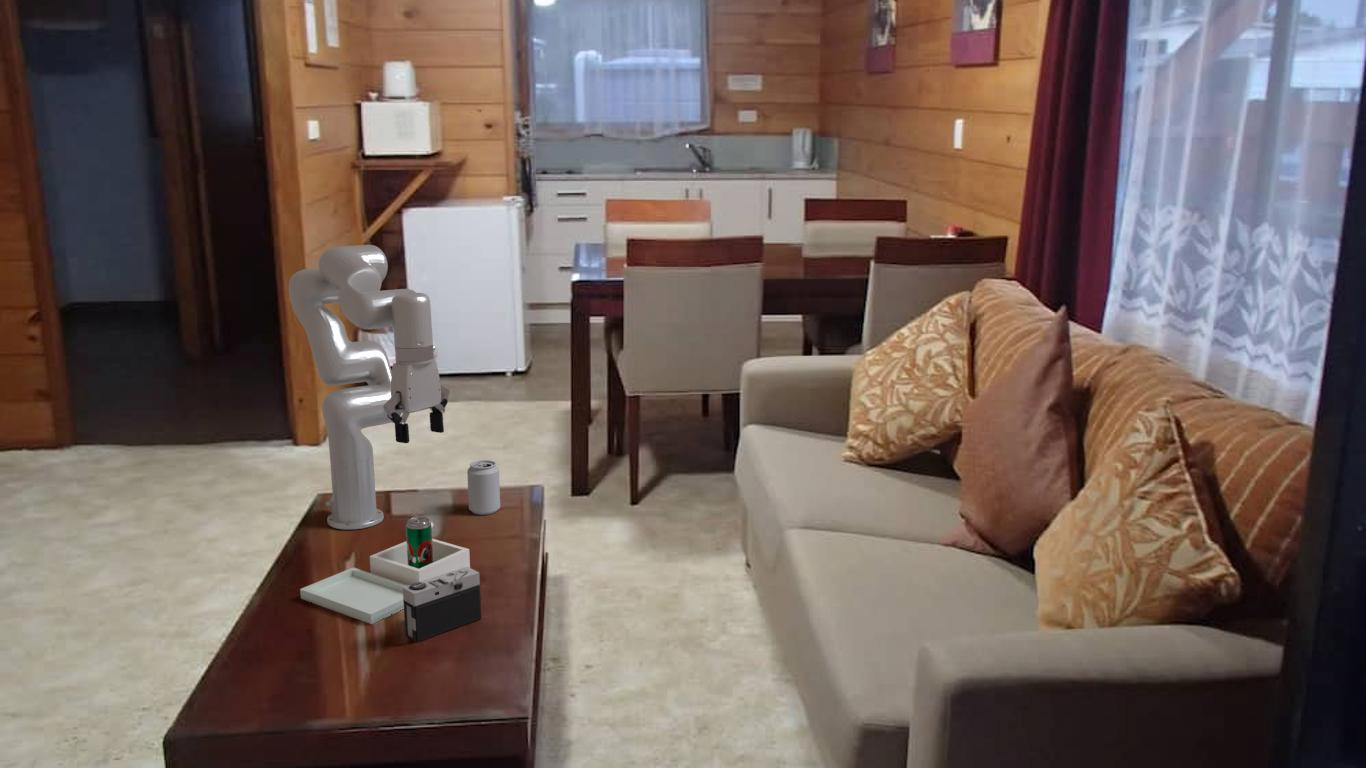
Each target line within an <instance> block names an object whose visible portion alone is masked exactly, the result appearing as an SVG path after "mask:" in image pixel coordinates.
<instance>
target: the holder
mask: <svg viewBox="0 0 1366 768" xmlns="http://www.w3.org/2000/svg"><path fill="white" fill-rule="evenodd" d="M432 549H433V563H431V564H429V565H427V566H424V567H422V568H420V569H418V568H415V567H412V566H408V560H407V541H406V540H405V541H403V542H401V543H399V544H396V545H393V546H391V547H389V548H386V549H384V550H382V551H378V552H377V553H374V554H372V555H370V556H369V566H370V568H369V569H370V573H372V574H375V575H378V576H381V577H385V578H388V579H391V580H394V581H397V582H400V583H403V584H406V585H411V584H413V583H416V582H421V581H424V580H427V579H430V578H433V577H436V576H439V575H443V574H446V573H449V572H452V571H455V570H458V569H461V568H464V567H469V568H471V560H470V559H471V557H470V555H471V554H470V549H469V548H467V547H463V546H459V545H456V544H452V543H449V542H446V541H442V540H438V539H436V538H432Z"/></svg>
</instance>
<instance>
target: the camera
mask: <svg viewBox="0 0 1366 768" xmlns="http://www.w3.org/2000/svg"><path fill="white" fill-rule="evenodd" d="M480 584H481V583H480V572H479V571H477V570H475V569H474V568H471V567H470V568H469V567H464V568H461V569H458V570H455V571H452V572H449V573H446V574H443V575H439V576H436V577H433V578H430V579H427V580H424V581H421V582H416V583H413V584H411V585H408V586H405V587H403V602H404V609H403V614H404V615H403V616H404V633H405V635H404V636H405V637H406V638H407V639H409V640H411V641H412V642H414V643H419V642H421V641H425V640H427V639H430V638H433V637H435V636H438V635H441V634H444V633H446V632H447V633H448V632H449V631H452V630H455V629H457V628H461V627H464V626H466V625H468V624H471V623H474V622H477V621H479V620H482V605H481V604H482V599H481V585H480Z"/></svg>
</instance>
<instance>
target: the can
mask: <svg viewBox="0 0 1366 768" xmlns="http://www.w3.org/2000/svg"><path fill="white" fill-rule="evenodd" d="M466 473H467V493H468V494H467V496H468V498H467V499H468V509H469V511H471V512H472V513H473V514H475V515H480V516H487V515H492V514H495V513H497V511H498V510H499V509H500V508H501V492H500V491H501V488H500V487H501V486H500V484H501V483H500V468H499V467H498V466H497V462H496V461H495V460H491V459H490V460H489V459H488V460H487V459H481V460H474V461H472V462H470V463H469V468H468V469H467V472H466Z"/></svg>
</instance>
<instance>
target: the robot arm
mask: <svg viewBox="0 0 1366 768" xmlns="http://www.w3.org/2000/svg"><path fill="white" fill-rule="evenodd" d="M388 265H389V264H388V260H387V256H386V255H385V253H384V252H383V250H382V249H381V248H380V247H378V246H376V245H373V244H359V245H358V244H357V245H340V246H334V247H330V248H328V249H327V250H325V251H324V252H323V253H322V254H321V255H320V258H319V260H318V267H310V268H304V269H301V270H298V271H296V272H295V273H293V274H292V276H291V277H290V278H289V279H290V280H289V281H288V296H289V301H290V304H291V307H292V309H293V312H294V314H295V315H296V317H297V319H298V320H299V322H300V323H301V325H302V327H303V328H304V330H305V333H306V336H307V339H308V343H309V347H310V350H311V353H312V357H313V359H314V364H315V366H316V367H315V368H316V371H317V374H318V375H319V378H320V380H321V381H322V383H323V384H325V385H326V386H329V387H330V386H331V387H332V386H334V387H335V386H344V385H351V384H352V385H353V384H357V383H359V384H360V383H365V382H366V383H367V385H361V386H360V385H359V386H354V387H348V388H342V389H337V390H334V391H332V392H330V393H328V394H327V395H326V396H325V397H324V399H323V400H322V404H321V411H322V417H323V420H324V425H325V429H326V433H327V441H328V449H329V450H328V451H329V460H330V461H329V462H330V475H331V491H332V493H331V494H332V496H331V497H330V499H329V500H328V501H327V500H326V502H325V507H326V508H329V509H330V508H331V514H329V515H328V516H327V519H326V520H327V525H328V526H329V527H332V528H334V529H336V530H337V529H339V530H346V531H347V530H350V531H351V530H359V529H360V530H362V529H366V528H370V527H374V526H376V525H378V524H380V523H381V522H382V521H383V520H384V518H385V517H384V512H383V511H382V510H381V509H378V508H377V497H376V481H375V480H376V478H375V464H374V450H373V446H372V443H371V441H370V440H369V439H368V438H367V437H366V436H365V435H364V434H363V433H362V429H367V428H370V427H371V428H372V427H376V426H381V425H386V424H391V423H392V424H394V433H395V434H394V435H395V441H396V443H402V444H409V443H410V432H409V431H410V430H409V429H410V428H409V424H408V423H406V422H407V420H408V417H409V416H410V414H413V413H416V412H420V411H421V412H422V411H423V410H428V409H429V410H430V411H431V412H429V423H430V424H429V427H430V429H429V430H430V431H431V432H433V433H438V434H439V433H441V434H442V433H444V432H445V429H444V414H445V412H446V409H445V408H446V407H447V404H448V402H449V400H448V399H449V396H450V393H451V392H450V389H449V388H446V387H444V386H441V381H440V380H441V379H440V373H439V368H438V364H437V361H436V359H435V356H434V352H435V351H436V346H435V345H434V339H433V325H432V309H431V300H430V297H429V296H428V294H426V293H423V292H416V291H415V290H413V289H410V288H399V289H397V288H396V289H386V290H381V288H382V283H383V281H384V280H385V278H386V276H387V273H388V268H389V266H388ZM330 304H339V308H340V309H341V312H342V314H343V316H344V317H345V318H346V320H348V321H349V322H350V323H351V324H353V325H355V326H356V327H357V328H358V329H362V330H374V329H382V328H383V329H384V328H391V327H392V328H393V340H394V341H393V342H394V356H395V357H394V358H395V362H394V363H392V368H391V365H390V360H389V357H388V355H387V353H386V350H385V349H384V347H383V346H382V345H381V344H380V343H378V342H376V341H374V340H361V341H360V340H359V341H351V340H350V339H349V337H348V333H347V331H346V327H345V324H344V323H343V321H342V320H341V319H340V318H339V317H338V316H337V315H336V313H334V311H332V310H331V309H329V308H327V307H326V306H325V305H330Z"/></svg>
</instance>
